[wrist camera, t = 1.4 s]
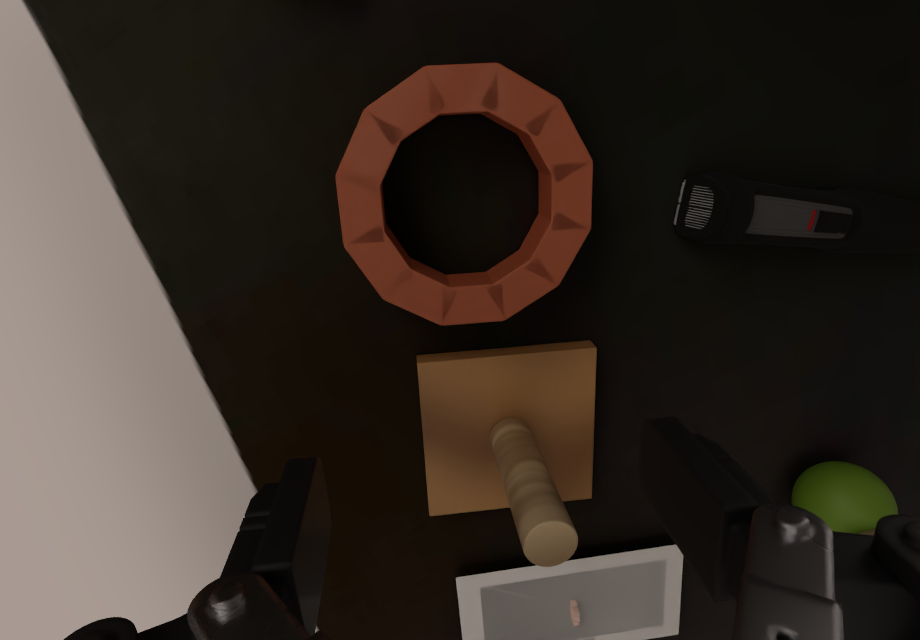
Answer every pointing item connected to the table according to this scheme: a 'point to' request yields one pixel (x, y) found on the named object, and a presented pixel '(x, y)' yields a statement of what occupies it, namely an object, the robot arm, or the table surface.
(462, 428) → the stand
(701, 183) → the electric trimmer
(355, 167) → the ring
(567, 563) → the touchpad
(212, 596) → the robot arm
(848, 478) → the snail figurine
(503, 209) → the table surface
